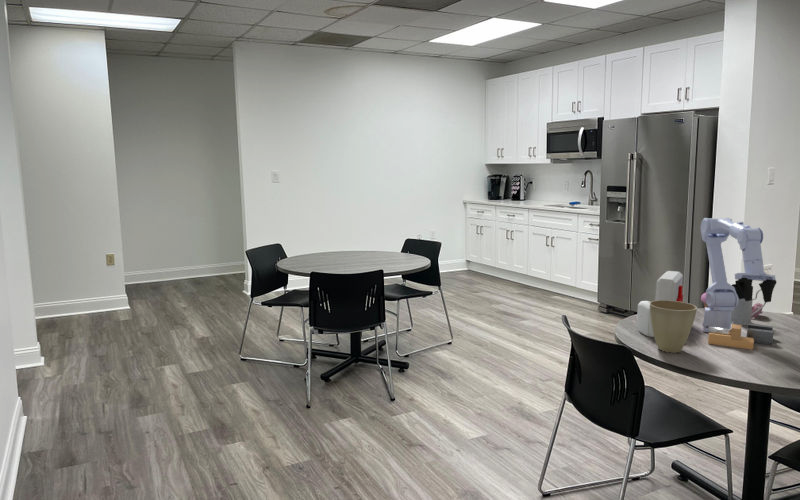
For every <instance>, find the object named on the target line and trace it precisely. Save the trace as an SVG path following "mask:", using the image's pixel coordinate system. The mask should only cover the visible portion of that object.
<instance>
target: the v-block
mask: <svg viewBox="0 0 800 500" xmlns="http://www.w3.org/2000/svg"><path fill="white" fill-rule="evenodd" d="M773 329H774V328H773V326H772V325H765V324H758V323H757V324H756V323H752V324H749V323H748V324H747V325H746V337H749V338H754V344H763V345H768V346H769V345H770V346H773V344H774V343H773V342H774V330H773Z"/></svg>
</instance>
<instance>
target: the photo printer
mask: <svg viewBox="0 0 800 500" xmlns="http://www.w3.org/2000/svg"><path fill="white" fill-rule="evenodd" d="M650 302H651V301H650V300H641V301H639V303H637V314H636V315H637V319H636V330H637V331H638V332H639V333H641V334H643V335H645V336H646V337H649V338H655V336H654V332H653V327H652V322H651V314H650Z"/></svg>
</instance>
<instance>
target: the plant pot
mask: <svg viewBox="0 0 800 500" xmlns="http://www.w3.org/2000/svg"><path fill="white" fill-rule="evenodd" d="M649 302H650V314H651V322H652V327H653V332H654V336H655V337H654V340H655V343H656V346H657V348H658V350H659V349H660V350H659V351H661V350H662V352H664V351H665V352H664V353H669V352H671V353H672V354H678V353H680V352H682V350H683V349H684V346H685V344H686V343H687V341H688V338H689V336H690V333H691V331H692V328H693V325H694V321H695V318H696V314H697V309H698V307H697V306H696V305H694V304H692V303H689V302H684V301H683V302H679V301H670V300H656V301H655V300H652V301H649ZM677 352H678V353H677ZM671 353H670V354H671Z"/></svg>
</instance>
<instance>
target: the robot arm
mask: <svg viewBox="0 0 800 500" xmlns="http://www.w3.org/2000/svg"><path fill="white" fill-rule="evenodd" d="M700 235H701V240H702V241H703V242H704V243H705V245H706V249H707V251H706V252H707V256H708V263H709V270H710V275H711V283H712V284H711V285H709V286H708V287H707V289H706V290H705V293H706V303H707V305H708V307H709V308H707V307H705V312H704V311H703V322H702V327H703V328H702V332H703V333H709V327H717V328H726V329H732V323H731V317H732V310H734V308H736V306H737V305H738V295H737V294H736V291H735V288H734V287H733V286H732V284H730V283H729V282H728V278H727V274H726V273H727V272H726V267H725V262H724V261H725V260H724V256H723V255H724V254H723V248H722V243H724V242H725V241H727V240H728V237H732V238H734V239H735V240H737V243H738V245H739V249H740V250H741V251H742V260H743V268H744V272H737V273H734V280H735V283H734V284H736V285H737V286H738V287H739V288H740V290H741V292H742V294H743V296H744V299H745V301H751V300H752V299H753V295H752V292H751V287H752V286H753V282H754V281H760V283H758V285H759V287H760V289H761V292H762V299H763V301H764V302H763V303H765V302H766V303H771V302H772V296H773V292H774V289H775V287H776V285H777V280H776V275H775V274H768V273H767V272H765V267H764V261H763V252H762V245H761V244H762V243H763V240H764V233H763V230H762V229H761V228H760V227H756V228H755V227H753V228H752V227H751V225H749V224H744V221H737V222H735V221H734V222H733V219H732V218H730V217H726V218H724V217H723V218H722V217H721V218H720V217H719V218H715V217H714V218H712V217H710V218H708V217H704V218H703V219H702V220H701V222H700Z"/></svg>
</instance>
